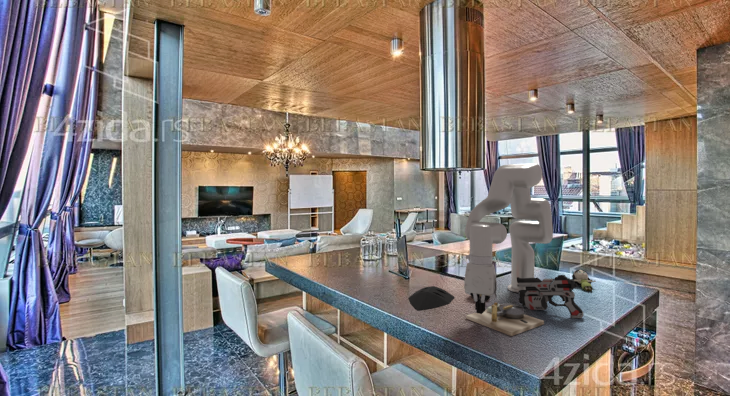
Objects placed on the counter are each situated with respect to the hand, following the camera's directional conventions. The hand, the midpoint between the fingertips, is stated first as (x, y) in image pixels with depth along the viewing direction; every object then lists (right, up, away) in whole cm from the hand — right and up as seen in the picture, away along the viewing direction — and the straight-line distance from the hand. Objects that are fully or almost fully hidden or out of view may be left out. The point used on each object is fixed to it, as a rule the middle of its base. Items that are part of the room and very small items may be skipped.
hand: (480, 312), depth 123 cm
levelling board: (+8, -3, 0) cm, 9 cm away
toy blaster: (+29, -3, +10) cm, 30 cm away
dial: (+9, -2, +1) cm, 9 cm away
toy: (+62, -2, +42) cm, 75 cm away
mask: (-13, -3, +24) cm, 28 cm away
